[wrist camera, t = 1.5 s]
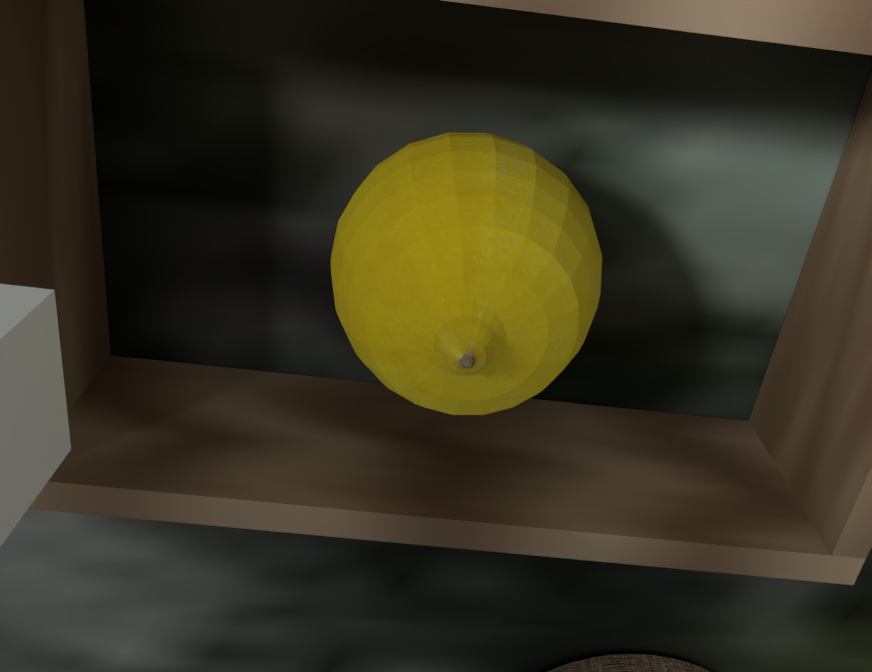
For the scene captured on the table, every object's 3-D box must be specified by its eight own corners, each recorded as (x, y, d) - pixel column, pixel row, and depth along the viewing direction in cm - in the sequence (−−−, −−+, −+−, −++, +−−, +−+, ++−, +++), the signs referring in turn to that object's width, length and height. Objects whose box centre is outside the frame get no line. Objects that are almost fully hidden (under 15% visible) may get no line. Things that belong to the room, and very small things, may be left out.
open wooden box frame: (83, 377, 23) (-15, 504, 18) (36, -117, 17) (-126, -130, 12) (767, 447, 24) (853, 585, 19) (932, 1, 18) (1115, 33, 13)
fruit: (482, 346, 22) (502, 549, 15) (308, 234, 21) (240, 400, 14) (617, 185, 20) (715, 333, 13) (435, 48, 19) (432, 129, 11)
